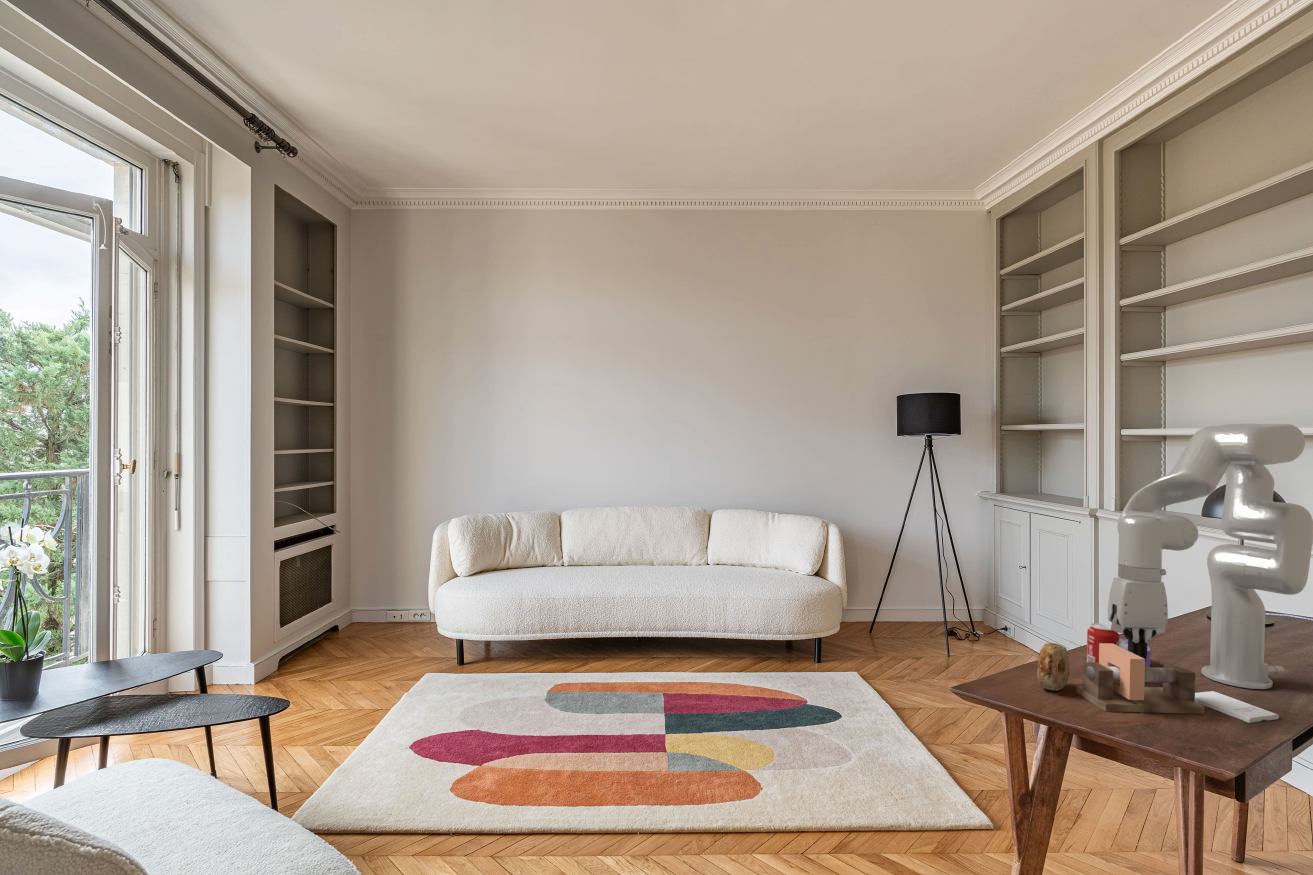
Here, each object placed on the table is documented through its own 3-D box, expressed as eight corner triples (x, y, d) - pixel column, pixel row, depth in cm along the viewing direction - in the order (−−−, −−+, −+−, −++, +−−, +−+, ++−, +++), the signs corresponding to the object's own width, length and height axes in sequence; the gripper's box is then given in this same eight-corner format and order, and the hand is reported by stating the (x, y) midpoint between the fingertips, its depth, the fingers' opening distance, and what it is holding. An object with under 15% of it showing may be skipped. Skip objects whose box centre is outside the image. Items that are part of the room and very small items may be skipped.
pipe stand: (1168, 694, 148) (1168, 659, 148) (1204, 713, 138) (1204, 676, 138) (1076, 692, 149) (1077, 657, 149) (1105, 711, 139) (1106, 674, 139)
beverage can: (1123, 682, 155) (1124, 631, 155) (1093, 680, 156) (1094, 628, 156) (1110, 673, 161) (1112, 623, 161) (1081, 671, 162) (1082, 621, 162)
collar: (1112, 681, 148) (1113, 643, 148) (1144, 700, 138) (1145, 658, 138) (1098, 681, 149) (1099, 643, 148) (1129, 699, 139) (1130, 658, 138)
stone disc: (1051, 696, 146) (1052, 650, 146) (1033, 691, 149) (1034, 646, 149) (1072, 686, 152) (1073, 642, 152) (1055, 681, 155) (1056, 638, 155)
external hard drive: (1214, 697, 148) (1279, 721, 136) (1185, 701, 146) (1249, 725, 134) (1214, 690, 148) (1279, 713, 136) (1185, 693, 146) (1249, 717, 134)
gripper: (1162, 570, 147) (1159, 654, 147) (1092, 569, 147) (1090, 653, 147) (1188, 578, 139) (1186, 666, 139) (1115, 576, 139) (1113, 665, 140)
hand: (1137, 659), depth 143 cm, fingers closed
